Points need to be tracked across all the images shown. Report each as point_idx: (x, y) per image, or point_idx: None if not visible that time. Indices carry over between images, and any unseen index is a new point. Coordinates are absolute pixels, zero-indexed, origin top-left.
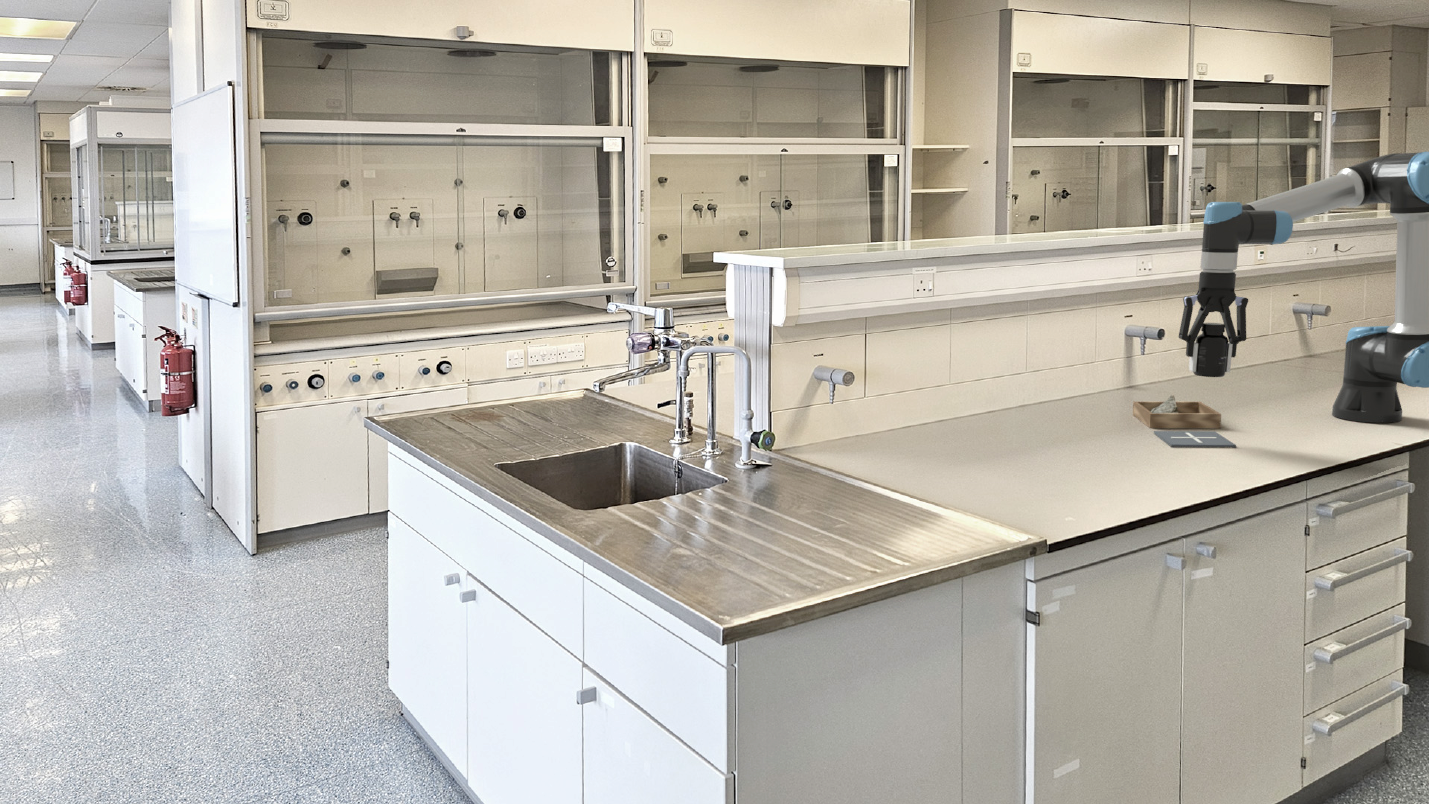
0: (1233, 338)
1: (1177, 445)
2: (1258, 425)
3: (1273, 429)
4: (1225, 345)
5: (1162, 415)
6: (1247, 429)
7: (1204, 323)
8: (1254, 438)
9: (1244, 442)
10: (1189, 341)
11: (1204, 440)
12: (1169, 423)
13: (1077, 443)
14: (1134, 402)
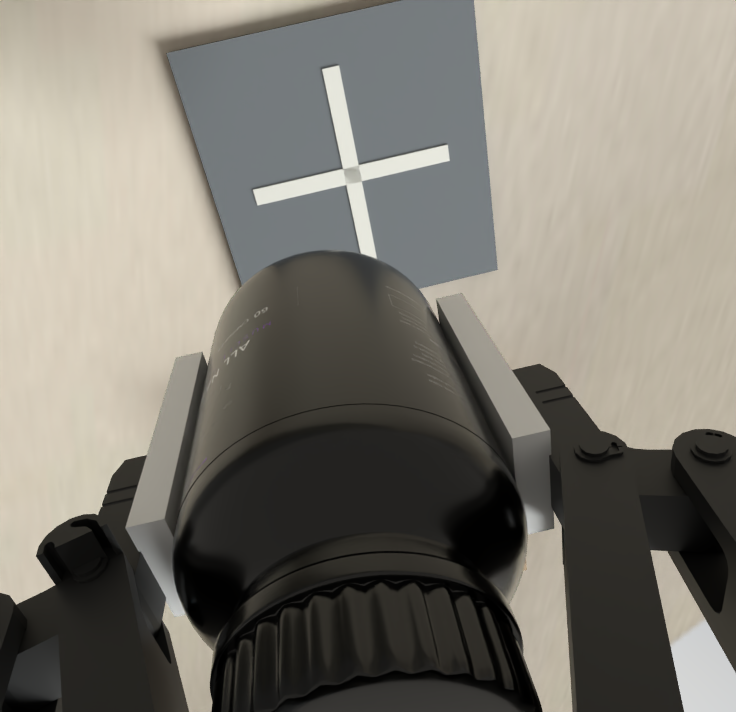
0: (104, 590)
1: None
2: (94, 504)
3: (33, 458)
4: (205, 450)
5: None
6: (130, 433)
7: None
8: (94, 281)
9: (132, 188)
10: (617, 443)
11: (309, 128)
12: None
13: None
14: (525, 559)
